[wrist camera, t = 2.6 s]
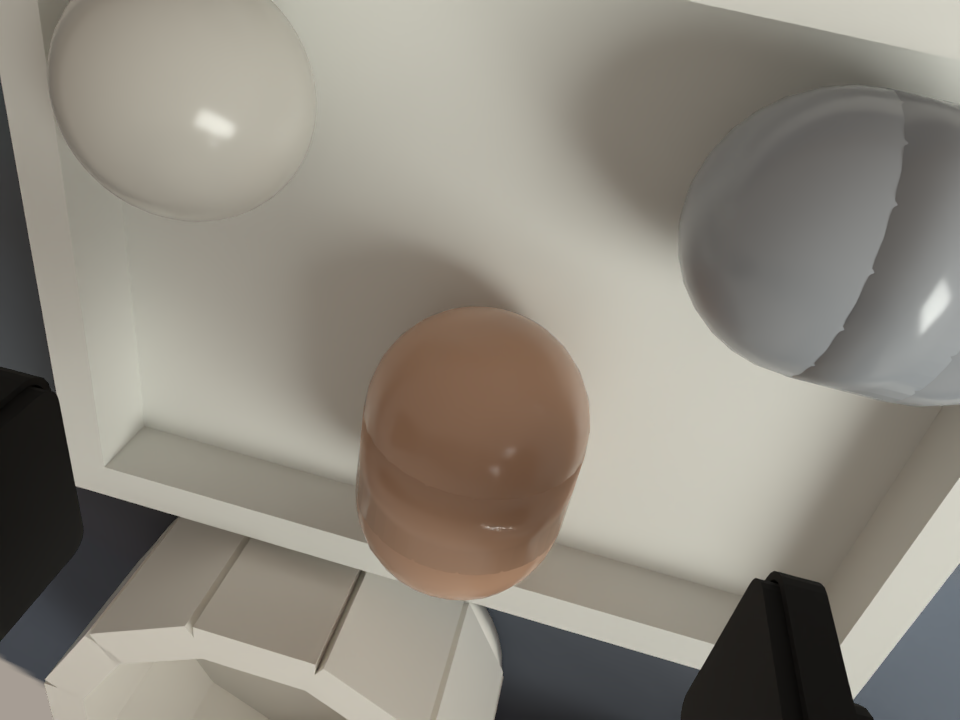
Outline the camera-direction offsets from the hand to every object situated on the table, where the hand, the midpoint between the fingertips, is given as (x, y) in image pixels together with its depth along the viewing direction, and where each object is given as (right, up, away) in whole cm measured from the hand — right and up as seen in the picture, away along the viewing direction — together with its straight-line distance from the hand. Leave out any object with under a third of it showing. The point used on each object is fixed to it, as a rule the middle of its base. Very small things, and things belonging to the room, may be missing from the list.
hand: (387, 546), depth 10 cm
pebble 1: (-2, +7, +2) cm, 8 cm away
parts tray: (+2, +4, +3) cm, 5 cm away
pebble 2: (+1, +2, +4) cm, 5 cm away
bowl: (-3, -5, +10) cm, 11 cm away
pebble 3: (+6, +5, +1) cm, 8 cm away
